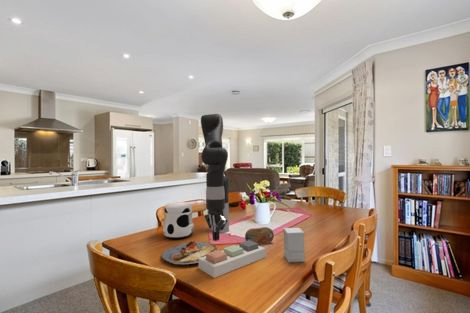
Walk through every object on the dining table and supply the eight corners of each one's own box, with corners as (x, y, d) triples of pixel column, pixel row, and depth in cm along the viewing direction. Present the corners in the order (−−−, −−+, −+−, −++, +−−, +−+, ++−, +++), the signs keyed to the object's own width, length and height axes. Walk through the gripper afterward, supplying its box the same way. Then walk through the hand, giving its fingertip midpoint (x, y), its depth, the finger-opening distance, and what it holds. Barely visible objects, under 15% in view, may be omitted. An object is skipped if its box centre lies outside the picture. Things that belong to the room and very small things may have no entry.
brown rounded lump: (246, 246, 125) (246, 230, 125) (244, 244, 128) (244, 228, 128) (274, 243, 129) (273, 227, 129) (271, 241, 132) (271, 225, 132)
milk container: (160, 234, 148) (159, 203, 147) (189, 229, 155) (188, 200, 155) (166, 243, 132) (166, 209, 132) (198, 237, 140) (197, 205, 140)
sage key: (223, 255, 107) (223, 248, 107) (234, 251, 111) (234, 244, 111) (232, 259, 102) (232, 252, 102) (243, 255, 106) (243, 248, 106)
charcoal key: (239, 249, 113) (239, 243, 113) (249, 246, 117) (248, 240, 117) (248, 253, 108) (248, 246, 108) (258, 250, 112) (258, 243, 112)
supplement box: (300, 255, 113) (299, 227, 113) (305, 262, 106) (304, 232, 106) (283, 255, 113) (283, 227, 113) (287, 262, 106) (287, 232, 106)
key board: (198, 268, 102) (198, 258, 102) (248, 250, 120) (248, 242, 120) (214, 277, 93) (214, 267, 93) (265, 257, 111) (265, 248, 111)
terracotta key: (206, 261, 101) (205, 253, 101) (218, 257, 105) (217, 250, 105) (214, 266, 96) (214, 258, 96) (226, 261, 100) (226, 254, 100)
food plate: (194, 242, 132) (194, 235, 132) (227, 253, 117) (227, 245, 117) (152, 259, 113) (151, 251, 112) (185, 274, 98) (185, 266, 98)
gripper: (198, 196, 103) (199, 238, 103) (217, 200, 93) (218, 246, 93) (213, 194, 108) (214, 234, 108) (233, 198, 98) (233, 242, 98)
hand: (216, 240), depth 101 cm, fingers closed
